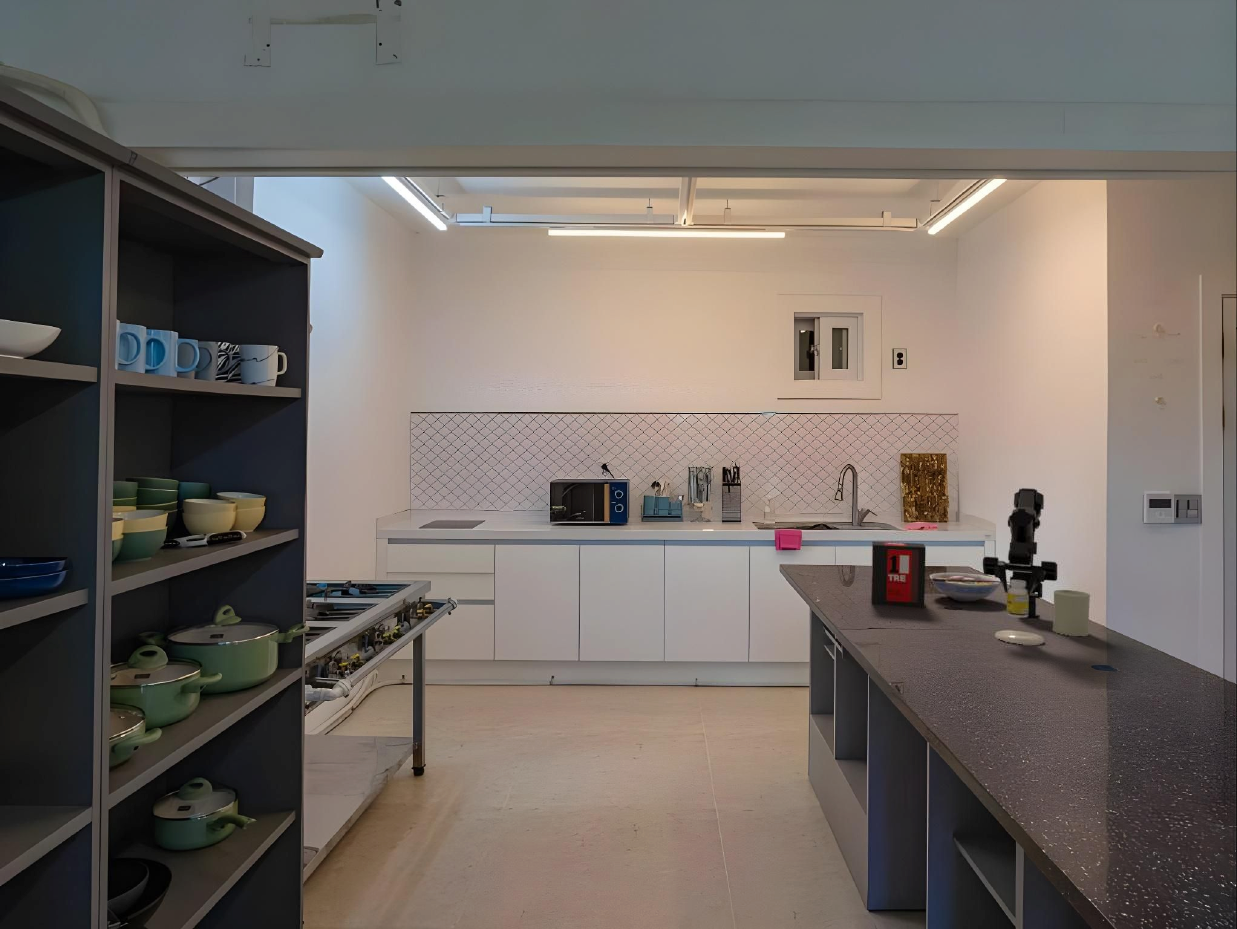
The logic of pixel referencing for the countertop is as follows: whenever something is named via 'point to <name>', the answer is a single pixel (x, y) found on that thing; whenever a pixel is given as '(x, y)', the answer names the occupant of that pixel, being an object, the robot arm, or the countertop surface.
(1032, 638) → the coaster
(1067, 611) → the can
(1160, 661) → the countertop surface
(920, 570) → the cleaning product box
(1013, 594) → the supplement bottle
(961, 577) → the ramen bowl
